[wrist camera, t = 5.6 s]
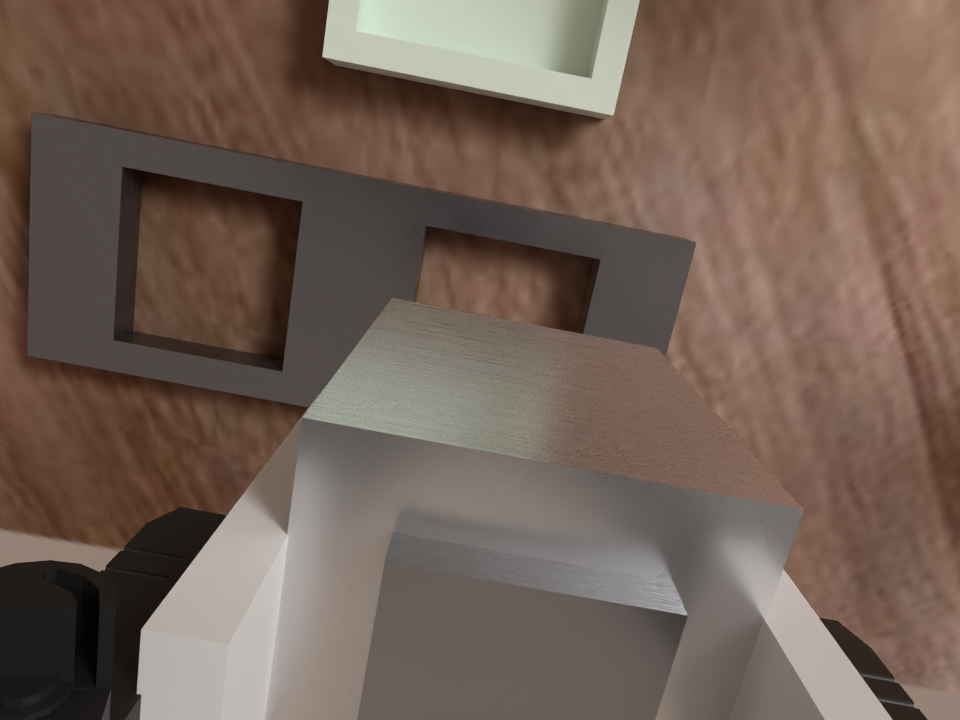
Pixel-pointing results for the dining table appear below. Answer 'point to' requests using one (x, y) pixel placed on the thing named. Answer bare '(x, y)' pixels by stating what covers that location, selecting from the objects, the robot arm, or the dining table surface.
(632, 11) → the parts tray
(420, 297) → the dining table surface
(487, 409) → the square stepped knob
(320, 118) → the dining table surface
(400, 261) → the grey double switch frame
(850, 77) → the dining table surface
